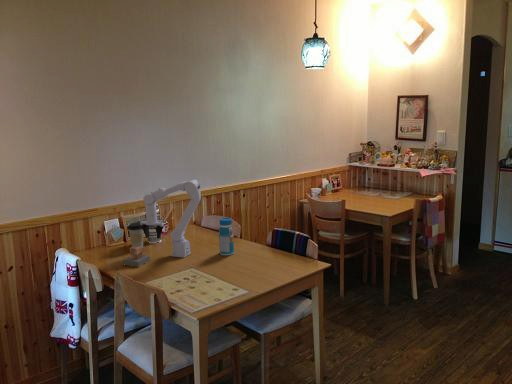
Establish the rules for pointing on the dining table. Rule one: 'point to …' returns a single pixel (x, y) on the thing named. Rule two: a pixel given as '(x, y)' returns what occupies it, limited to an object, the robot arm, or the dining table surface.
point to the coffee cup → (136, 234)
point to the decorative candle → (152, 230)
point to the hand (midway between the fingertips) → (153, 237)
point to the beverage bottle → (226, 237)
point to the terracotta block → (136, 252)
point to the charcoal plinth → (136, 261)
